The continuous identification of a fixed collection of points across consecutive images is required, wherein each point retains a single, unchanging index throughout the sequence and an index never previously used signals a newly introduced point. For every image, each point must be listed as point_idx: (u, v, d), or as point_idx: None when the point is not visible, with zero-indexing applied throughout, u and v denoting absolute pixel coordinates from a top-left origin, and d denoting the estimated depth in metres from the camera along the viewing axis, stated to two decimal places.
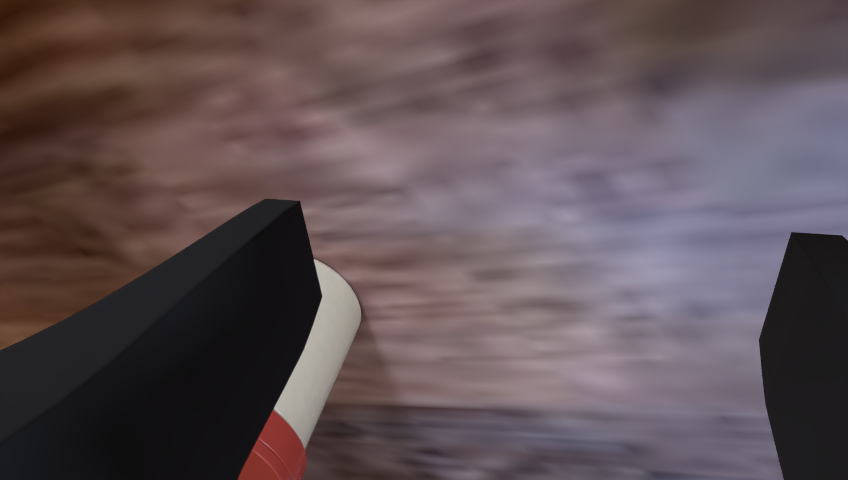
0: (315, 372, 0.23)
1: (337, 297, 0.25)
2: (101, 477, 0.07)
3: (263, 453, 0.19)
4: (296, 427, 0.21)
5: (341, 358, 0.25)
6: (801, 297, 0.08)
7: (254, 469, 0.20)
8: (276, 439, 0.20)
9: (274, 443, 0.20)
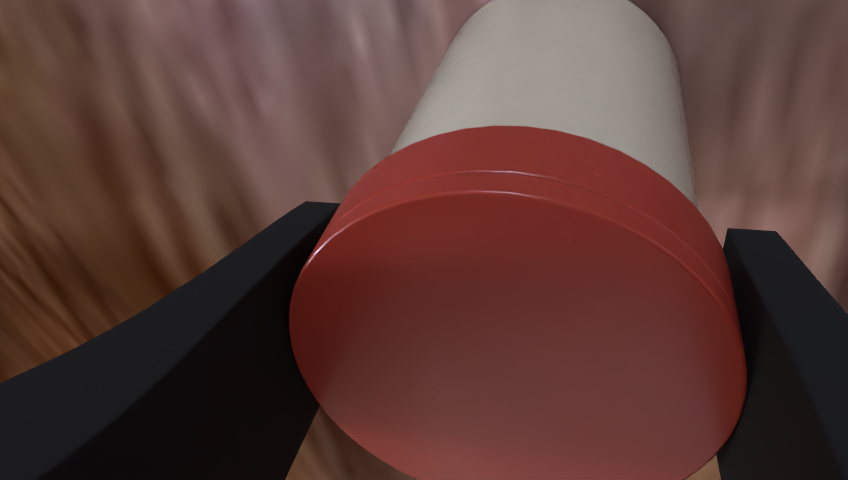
0: (492, 69, 0.10)
1: (491, 11, 0.13)
2: None
3: (381, 202, 0.07)
4: None
5: (579, 26, 0.11)
6: None
7: (434, 247, 0.07)
8: (408, 167, 0.08)
9: (405, 174, 0.08)
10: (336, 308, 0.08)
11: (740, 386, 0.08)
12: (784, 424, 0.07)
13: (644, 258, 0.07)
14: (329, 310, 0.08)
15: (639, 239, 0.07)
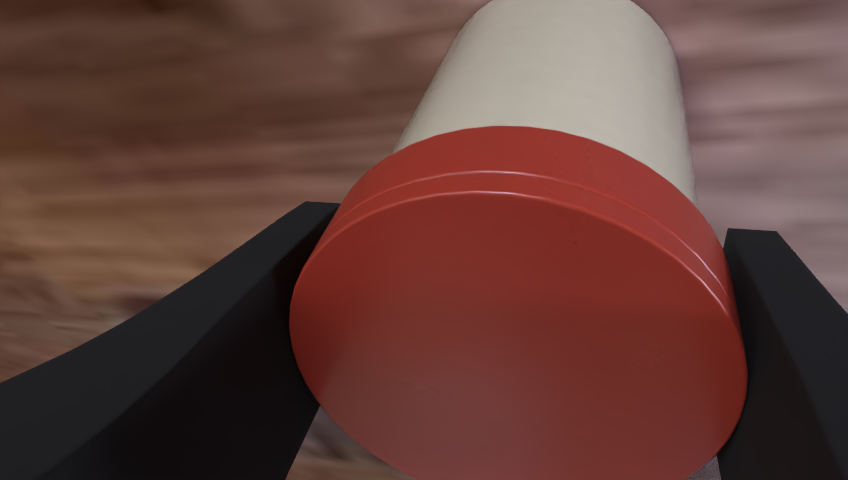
0: (693, 173, 0.10)
1: (672, 62, 0.13)
2: None
3: (382, 202, 0.07)
4: None
5: None
6: None
7: (434, 247, 0.07)
8: (409, 167, 0.08)
9: (405, 174, 0.08)
10: (337, 308, 0.08)
11: (740, 386, 0.08)
12: (784, 424, 0.07)
13: (645, 258, 0.07)
14: (329, 310, 0.08)
15: (640, 239, 0.07)
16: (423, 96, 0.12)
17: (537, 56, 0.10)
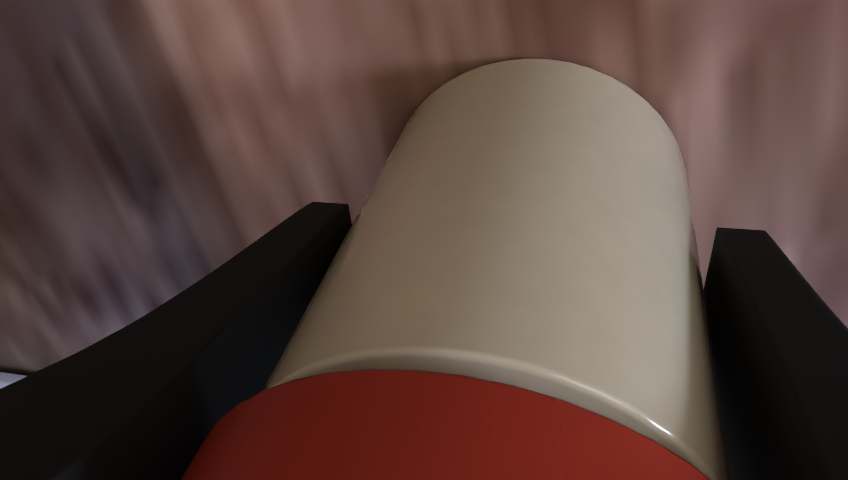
0: None
1: None
2: None
3: None
4: None
5: None
6: (722, 290, 0.08)
7: None
8: (277, 446, 0.05)
9: (268, 463, 0.05)
10: None
11: None
12: (769, 422, 0.07)
13: None
14: None
15: None
16: (634, 204, 0.08)
17: None
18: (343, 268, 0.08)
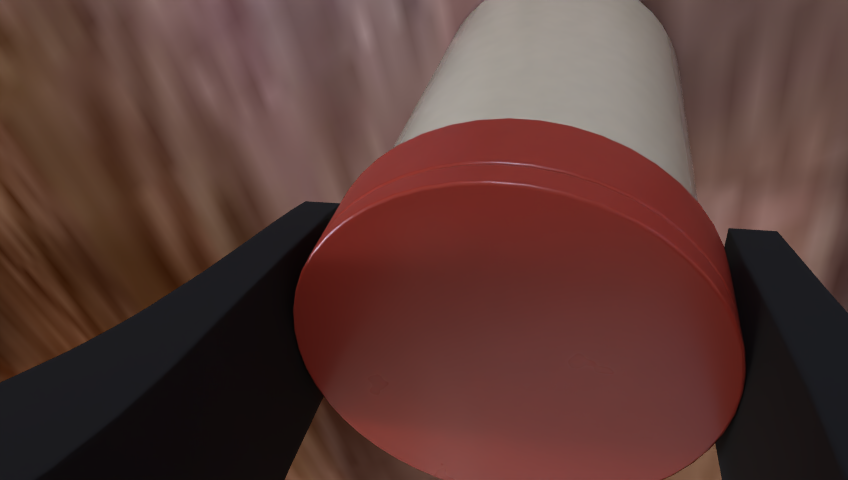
0: (489, 60, 0.10)
1: (489, 7, 0.13)
2: None
3: None
4: (486, 116, 0.09)
5: (573, 16, 0.11)
6: (734, 291, 0.08)
7: (543, 476, 0.10)
8: None
9: None
10: (653, 446, 0.09)
11: (306, 358, 0.09)
12: (785, 424, 0.07)
13: (397, 450, 0.10)
14: (662, 445, 0.09)
15: (402, 458, 0.10)
16: None
17: None
18: None
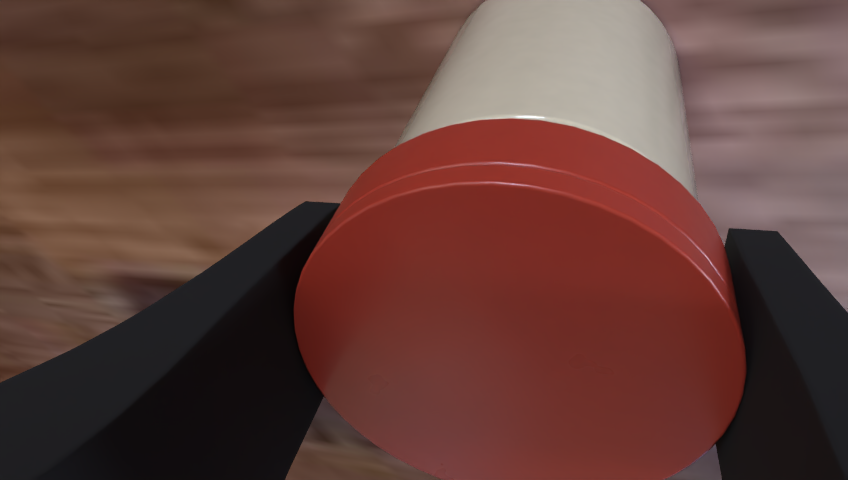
0: (691, 158, 0.11)
1: (670, 51, 0.13)
2: None
3: None
4: None
5: None
6: None
7: (543, 476, 0.10)
8: None
9: None
10: (653, 447, 0.09)
11: (306, 358, 0.09)
12: (786, 424, 0.07)
13: (397, 450, 0.10)
14: (662, 446, 0.09)
15: (402, 458, 0.10)
16: (427, 88, 0.12)
17: (537, 46, 0.10)
18: None
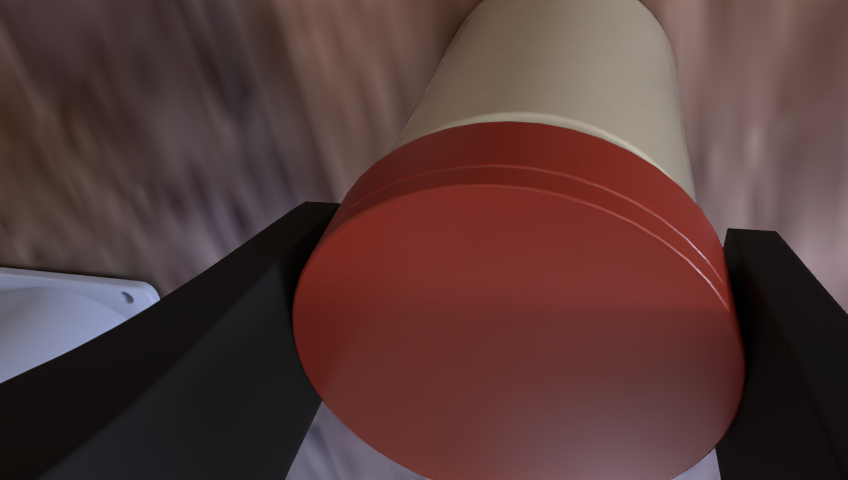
0: None
1: None
2: None
3: None
4: None
5: None
6: (733, 291, 0.08)
7: None
8: None
9: None
10: (653, 450, 0.09)
11: (304, 362, 0.09)
12: (784, 424, 0.07)
13: (395, 454, 0.10)
14: (662, 449, 0.09)
15: (401, 462, 0.10)
16: (627, 52, 0.11)
17: None
18: (423, 104, 0.11)
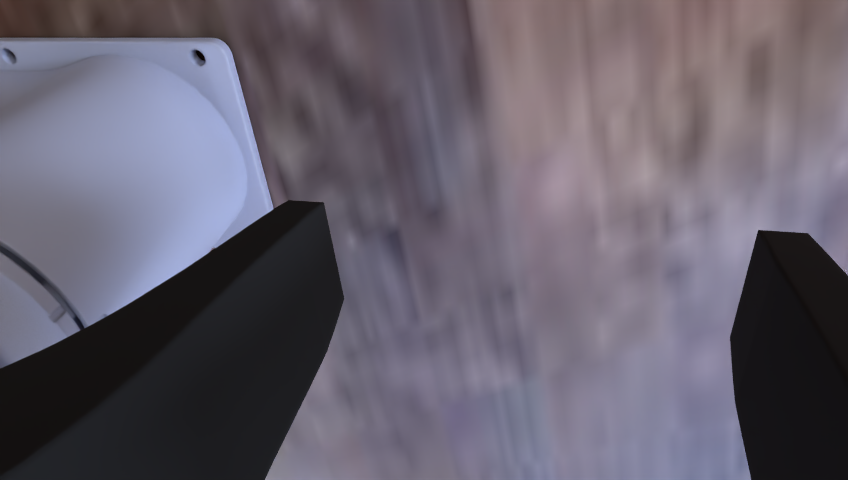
0: None
1: None
2: None
3: None
4: None
5: None
6: (766, 294, 0.08)
7: None
8: None
9: None
10: None
11: None
12: (827, 429, 0.06)
13: None
14: None
15: None
16: None
17: None
18: None
